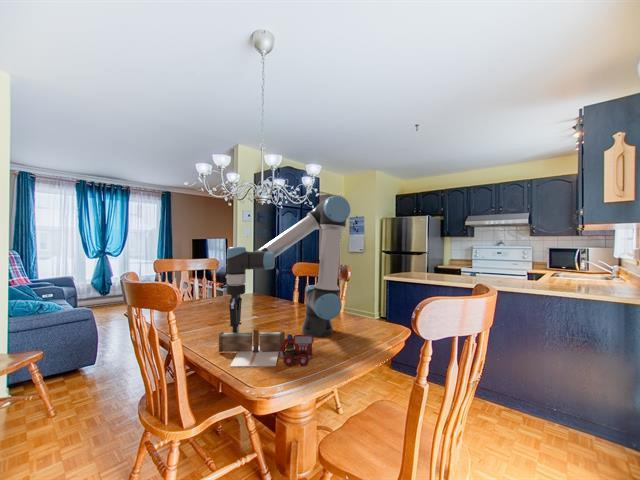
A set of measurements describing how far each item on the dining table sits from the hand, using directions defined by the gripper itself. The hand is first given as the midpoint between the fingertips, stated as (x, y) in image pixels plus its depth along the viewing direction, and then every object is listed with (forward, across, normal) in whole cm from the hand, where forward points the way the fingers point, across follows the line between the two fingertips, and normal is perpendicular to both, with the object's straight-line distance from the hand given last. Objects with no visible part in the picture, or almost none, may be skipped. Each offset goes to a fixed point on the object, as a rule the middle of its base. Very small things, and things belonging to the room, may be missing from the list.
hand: (235, 341), depth 118 cm
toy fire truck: (+3, +15, +25) cm, 29 cm away
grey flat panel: (+2, +5, +1) cm, 5 cm away
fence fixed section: (+3, +5, +14) cm, 15 cm away
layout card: (+3, +8, +10) cm, 13 cm away
